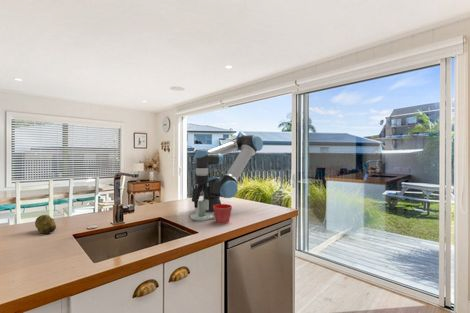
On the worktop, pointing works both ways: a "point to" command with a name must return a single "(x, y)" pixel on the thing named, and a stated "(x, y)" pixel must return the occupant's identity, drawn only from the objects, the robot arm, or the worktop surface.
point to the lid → (201, 213)
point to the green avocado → (45, 224)
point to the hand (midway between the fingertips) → (201, 211)
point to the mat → (205, 220)
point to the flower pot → (222, 213)
